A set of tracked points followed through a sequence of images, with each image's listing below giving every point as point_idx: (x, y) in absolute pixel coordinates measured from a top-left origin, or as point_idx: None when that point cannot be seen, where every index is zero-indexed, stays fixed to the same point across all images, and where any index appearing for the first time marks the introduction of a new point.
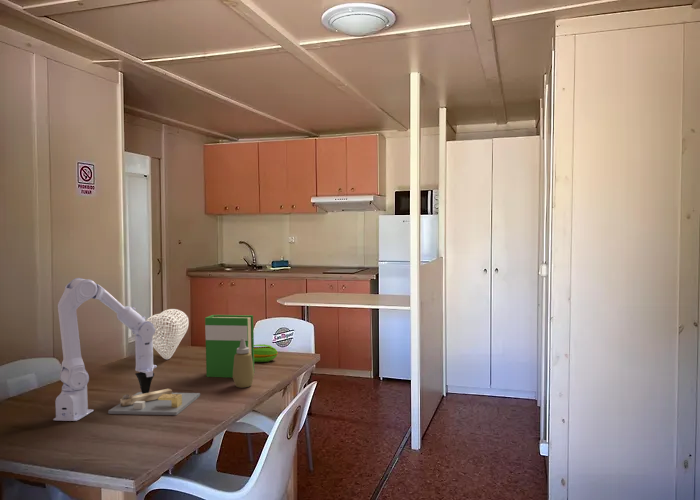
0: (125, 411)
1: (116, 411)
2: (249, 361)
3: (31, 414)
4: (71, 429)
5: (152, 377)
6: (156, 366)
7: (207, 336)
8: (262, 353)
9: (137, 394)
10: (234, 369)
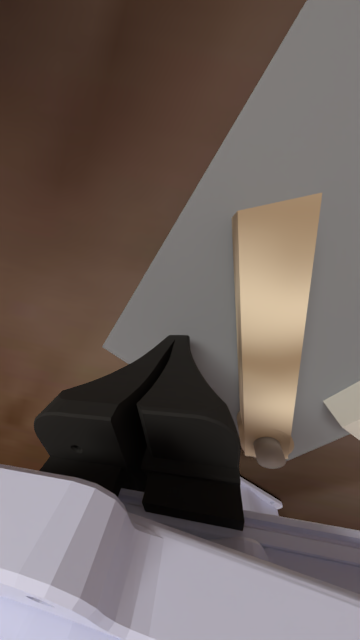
0: (338, 436)
1: (305, 449)
2: None
3: None
4: (337, 518)
5: (214, 396)
6: (89, 559)
7: None
8: None
9: (137, 358)
10: None
